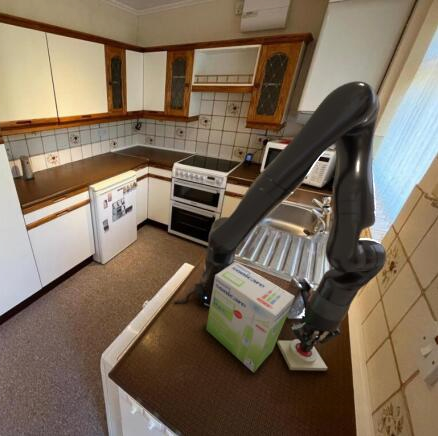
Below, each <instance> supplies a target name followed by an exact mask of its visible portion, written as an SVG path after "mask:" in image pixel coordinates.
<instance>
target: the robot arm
mask: <svg viewBox="0 0 438 436" xmlns="http://www.w3.org/2000/svg"><path fill="white" fill-rule="evenodd" d="M380 108H381V104H380V99H379V97H378V94H377V92H376V91H375V89H374V88H373V86H371V85H370V84H369V83H367V82H366V81H365V82H364V81H359V80H357V81H356V80H355V81H350V82H349V81H348V82H347V83H344V84H342V85H340V86H338V87H336V88H335V89H333V90H332V91H331V92H329V94H327V96H325V98H324V99H322V101H321V102H320V103H319V105H318V106H317V108H315V110H314V111H313V113H312V114H311V115H310V116H309V118H308V119H307V121H306V122H305V123H304V125H303V126H302V127H301V129H300V130H299V131H298V132H297V133H296V135H295V136H294V138H292V140H290V142H289V143H287V145H286V146H285V147H284V148H283V149H282V150H281V151H280V152H279V154H277V155H276V157H275V158H274V159H273V160H272V161H271V162H270V163H269V164H268V165H267V166H266V167H265V168H264V169H263V170H262V172H261V173H259V175H257V177H256V178H255V179H254V181H253V182H252V183H251V184H250V185H249V186H248V189H247V190H246V192H245V193H244V195H243V197H242V198H241V199H240V201H239V203H238V205H237V206H236V207H235V210H233V212H232V213H231V214H230V215H229V216H228V217H227V216H223V217H222V216H221V217H219V218H217V219H216V220H214V221H213V223H212V224H211V225H210V230H209V233H208V237H207V241H208V243H207V248H206V253H205V258H204V263H203V264H204V265H203V269H202V273H201V274H200V278H199V283H194V288H193V290H192V291H190V292H189V293H188V294H187V295H186V298H185V300H175V301H174V304H181V305H182V304H186V303H187V302H189V299H190V296H191V295H193V294H194V295H195V298H196V300H199V303H200V305H201V306H205V307H207V308H209V309H210V303H211V297H212V291H213V286H214V279H215V275H216V274H218V273H219V272H221V271H222V270H224V269H225V268H227V267H228V266H230V265H231V264H233V263H234V262H235V258H236V252H237V249H238V247H240V245H241V244H242V243H243V242H244V241H245V239H246V238H247V237H248V236H249V234H251V232H252V231H253V230H254V229H255V228H256V227H257V226H259V224H260V223H262V222H263V221H264V220H265V219H267V217H268V216H270V215H271V214H272V213H273V212H274V210H276V209H277V208H278V207H279V206H280V205H282V204H283V203H284V202H285V201H286V200H287V199H288V198H289V197H291V195H293V194H294V193H295V192H296V191H297V190H298V188H299V187H300V186H301V185H302V184H303V183H304V181H305V180H306V179H307V177H308V175H309V173H310V172H311V170H312V169H313V167H314V166H315V164H316V163H317V162H318V160H319V159H320V157H321V156H323V154H324V153H325V152H326V151H327V150H328V149H329V148H330V147H332V146H333V145H334V146H335V170H334V177H333V183H332V194H331V195H332V197H331V198H332V218H333V219H332V224H331V226H330V228H329V229H330V230H329V233H328V236H327V240H326V243H325V244H326V245H325V257H326V260H327V263H328V264H329V266H330V267H331V269H328V270H326V271H325V272H324V273H323V274H322V276H321V279H320V280H319V283H318V285H317V287H316V289H315V290H313V292H312V293H311V295H310V298H309V300H308V302H309V303H308V305H307V307H306V309H305V308H304V309H305V312H304V319H300V322H299V324H296V325H295V323H290V324H289V327H290V328H291V330H292V332H293V333H294V335H295V336H296V338H297V339H299V341H300V344H299V346H300V347H301V349H302V350H303V352H310V350H312V348H313V347H315V346H316V345H318V344H319V343H320V344H323V345H324V344H325V343H327V342H328V341H330V340H333V339H334V338H335V339H336V337H338V336H340V335H341V334H342V332H341V331H340V329H339V327H340V326H341V324H342V323H343V321H344V319H345V318H346V316H347V314H348V313H349V311H350V308H351V305H352V304H353V301H354V300H355V298H356V296H357V295H358V293H359V292H360V291H361V290H362V289H363V288H364V287H365V286H366V285H368V284H369V283H370V282H371V281H372V280H373V279H374V278H375V277H376V276H377V275H378V274H379V273H380V272H381V271H382V270H383V268H384V267H385V264H386V262H387V257H388V256H387V250H386V249H385V247H384V246H383V244H381V243H380V242H379V241H377V240H375V239H372V238H360V237H361V234H362V232H363V231H364V230H365V229H369V228H371V227H373V226H375V223H376V218H377V217H376V216H377V215H376V193H375V191H376V190H375V181H374V168H373V167H374V165H373V148H374V139H375V138H374V137H375V132H376V127H377V123H378V122H377V121H378V116H379V112H380V110H381V109H380Z"/></svg>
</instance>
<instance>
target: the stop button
mask: <svg viewBox="0 0 438 436" xmlns="http://www.w3.org/2000/svg"><path fill="white" fill-rule="evenodd" d="M296 350H297V352H299V353H300V354H301V355H302V356H305V357H309V356H310V354H311V351H310V352H303V350H302V349H301V347H300V346H299V344H298V345H297V346H296Z"/></svg>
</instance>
